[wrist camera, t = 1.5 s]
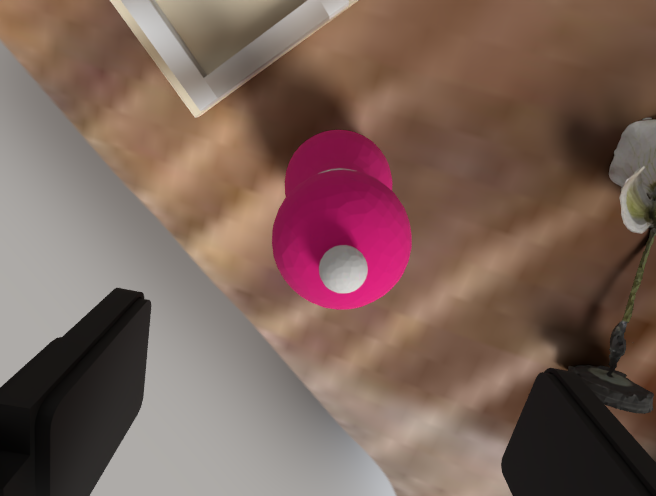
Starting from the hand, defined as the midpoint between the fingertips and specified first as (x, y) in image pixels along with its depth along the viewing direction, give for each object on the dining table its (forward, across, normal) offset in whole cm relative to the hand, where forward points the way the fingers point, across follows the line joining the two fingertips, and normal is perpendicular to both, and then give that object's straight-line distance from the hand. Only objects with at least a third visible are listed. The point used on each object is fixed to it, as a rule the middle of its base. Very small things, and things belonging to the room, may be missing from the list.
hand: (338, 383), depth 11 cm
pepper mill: (+26, 0, -1) cm, 26 cm away
